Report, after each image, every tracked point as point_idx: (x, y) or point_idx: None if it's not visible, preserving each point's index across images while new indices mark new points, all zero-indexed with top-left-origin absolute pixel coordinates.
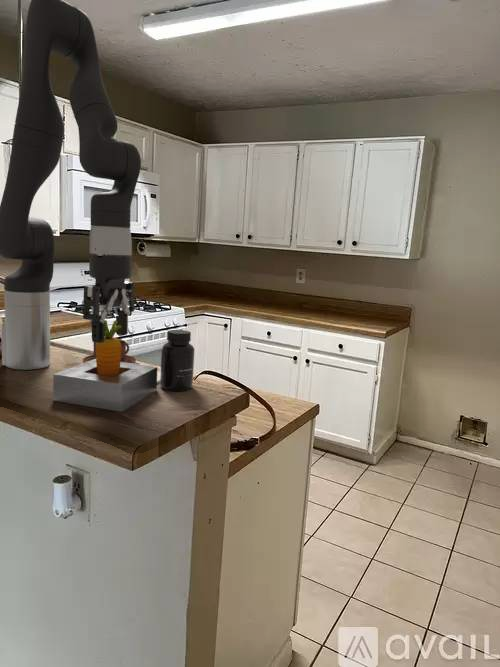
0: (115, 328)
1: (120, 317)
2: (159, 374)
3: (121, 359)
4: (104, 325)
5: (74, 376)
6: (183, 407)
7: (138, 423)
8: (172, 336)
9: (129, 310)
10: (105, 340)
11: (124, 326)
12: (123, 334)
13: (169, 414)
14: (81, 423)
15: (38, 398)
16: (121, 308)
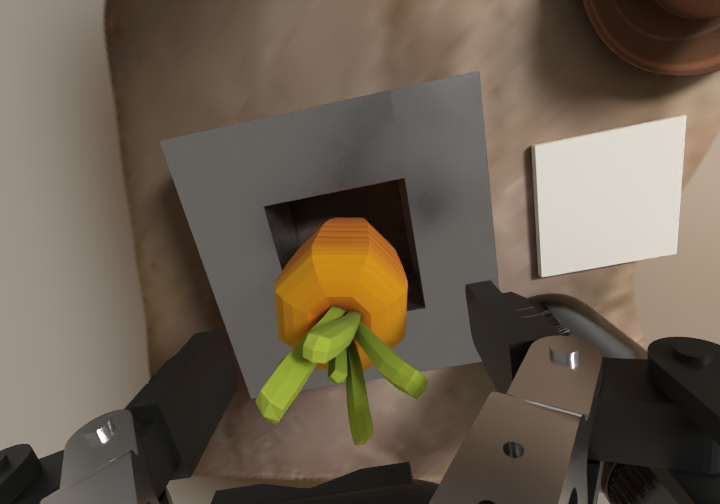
0: (348, 404)
1: (507, 379)
2: (637, 230)
3: (708, 15)
4: (198, 458)
5: (200, 226)
6: (395, 432)
7: (244, 415)
8: (622, 493)
9: (602, 468)
10: (293, 340)
11: (487, 366)
12: (472, 328)
13: (334, 433)
14: (153, 326)
15: (185, 80)
16: (606, 407)
